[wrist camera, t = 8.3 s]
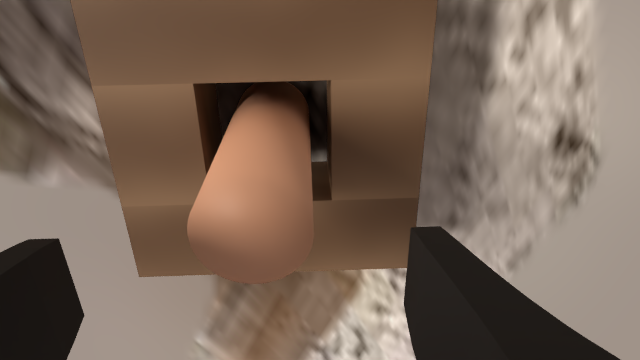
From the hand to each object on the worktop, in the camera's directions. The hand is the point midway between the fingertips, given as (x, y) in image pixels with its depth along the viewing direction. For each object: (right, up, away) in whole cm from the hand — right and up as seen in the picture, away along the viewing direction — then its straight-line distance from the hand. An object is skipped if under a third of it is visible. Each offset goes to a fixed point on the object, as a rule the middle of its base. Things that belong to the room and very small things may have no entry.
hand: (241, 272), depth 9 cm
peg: (0, +5, +9) cm, 10 cm away
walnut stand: (0, +5, +9) cm, 10 cm away
